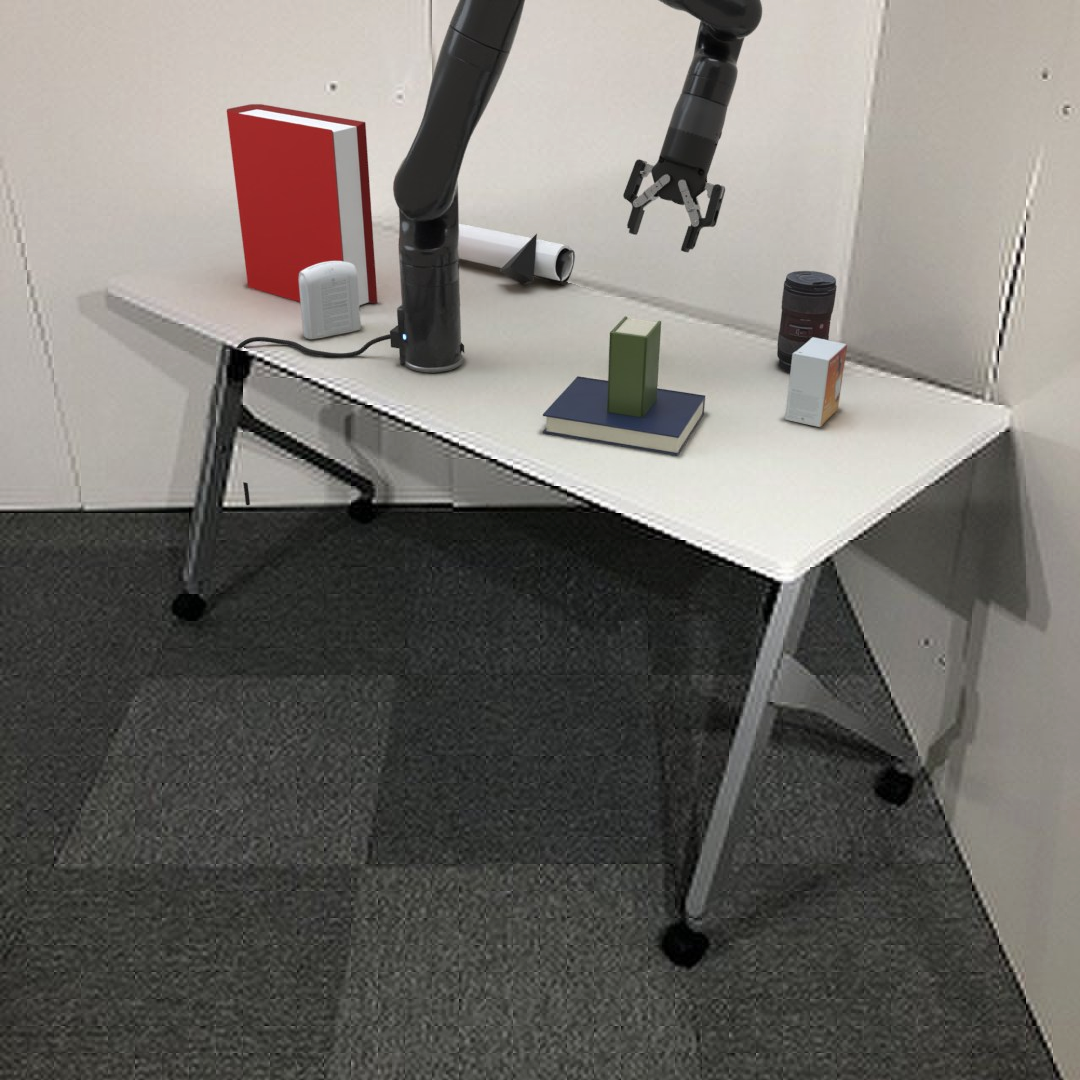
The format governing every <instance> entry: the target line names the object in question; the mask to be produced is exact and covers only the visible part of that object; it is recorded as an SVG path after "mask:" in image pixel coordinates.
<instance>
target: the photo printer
mask: <svg viewBox="0 0 1080 1080" xmlns="http://www.w3.org/2000/svg"><path fill="white" fill-rule="evenodd" d="M299 290H300V302H299V303H300V312H301V313H300V314H301V322H302V323H301V324H302V332H303V337H304V338H305V339H307V340H316V339H322V338H326V337H327V338H328V337H331V336H332V337H333V336H336V335H343V334H347V333H352V332H357V331H360V330H361V326H362V325H361V313H360V312H361V311H360V305H359V294H358V278H357V272H356V268H355V266H354V265H353V264H351V263H349V262H344V261H328V262H322V263H318V264H315V265H312V266H310V267H308V268H306V269H304V270H302V271H301V272H300V273H299Z"/></svg>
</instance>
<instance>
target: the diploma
mask: <svg viewBox="0 0 1080 1080" xmlns="http://www.w3.org/2000/svg"><path fill="white" fill-rule="evenodd" d="M537 237H538V233H535V234H534V235H533V236H532V237H528V236H523V235H518V234H515V233H514V234H513V233H509V232H504V231H499V230H494V229H490V228H485V227H479V226H474V225H468V224H464V223H460V222H459V245H458V254H459V260H460V261H461V260H462V261H467V262H472V263H477V264H481V265H486V266H490V267H495V268H498V269H499V268H500V269H499V270H498V271H499V272H500V273H502V274H504V275H505V276H507V277H509V279H512V280H514V281H515V282H517V283H518V284H520V285H525V284H529V283H532V282H534V280H535V279H534V278H537V279H542V280H545V281H549V282H552V283H555V284H559V285H562V286H564V285H565V284H567V282H568V281H569V279H570V278H571V275H572V273H573V269H574V266H575V261H576V255H575V251H574V250H573V248H572V247H571V246H570V245H567V244H563V243H558V242H554V241H548V240H543V239H538V238H537Z"/></svg>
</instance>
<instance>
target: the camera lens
mask: <svg viewBox="0 0 1080 1080" xmlns="http://www.w3.org/2000/svg"><path fill="white" fill-rule="evenodd" d="M785 277H786V278H785V280H784V281H783V282H784V283H783V290H782V297H781V307H780V308H781V313H780V323H779V331H778V337H777V347H776V348H777V353H776V356H777V358H778V366H779V369H780V370H782V371H783V372H785V373H788V374H790V371H791V363H792V354H793V353H794V352H796V351H797V350H798V349H799V348H801V347H802V346H803V345H804V344H805V343H807V342H808V341H809V340H810V339H811V338H812V337H814V338H819V339H824V340H829V341H830V328H831V320H832V314H833V312H834V308H835V303H836V295H837V288H838V287H837V278H836V277H835V276H834V275H831V274H829V273H826V272H821V271H815V270H797V271H792V272H789V273H787V274H786V276H785Z"/></svg>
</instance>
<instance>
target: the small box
mask: <svg viewBox="0 0 1080 1080" xmlns="http://www.w3.org/2000/svg"><path fill="white" fill-rule="evenodd" d="M847 349H848V344H847V343H843V342H838V341H835V340H830V339H829V340H824V339H819V338H814V337H812V338H811V339H810V340H809V341H808V342H807V343H805V344H804V345H803V346H802V347H801V348H799V349H798V350H797V351H796V352H794V353H793V354H792V363H791V371H790V373H789V381H788V388H787V389H788V390H787V397H786V398H787V399H786V405H785V407H786V408H785V417H784V419H785V420H786V421H790V422H795V423H800V424H804V425H809V426H813V427H817V428H821V427H822V426H823V425H824V424H825V423H826V422H827V421H828V419H830V418H831V417H832V416H833V415H834V414H835V413H836V412H838V410H839V407H840V406H839V404H840V396H841V391H842V384H843V376H844V371H845V364H846V356H847V351H848V350H847Z"/></svg>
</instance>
